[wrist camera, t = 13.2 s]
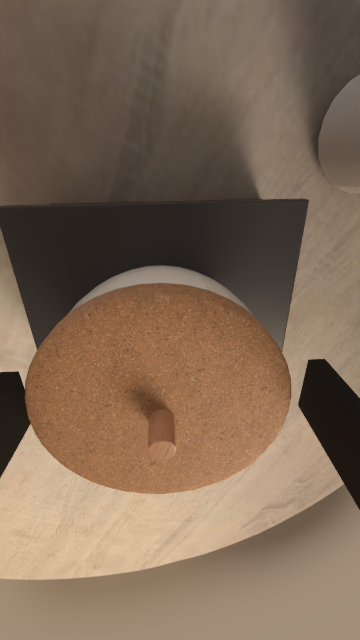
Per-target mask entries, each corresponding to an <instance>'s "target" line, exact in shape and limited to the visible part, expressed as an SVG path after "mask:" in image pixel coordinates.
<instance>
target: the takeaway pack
mask: <svg viewBox="0 0 360 640" xmlns="http://www.w3.org/2000/svg"><path fill="white" fill-rule="evenodd" d="M308 203H309V200H307V199H269V200H262V199H245V200H201V201H158V202H115V203H71V204H50V205H10V206H0V227H1V231H2V234H3V237H4V241H5V244H6V247H7V251H8V254H9V257H10V261H11V264H12V267H13V271H14V274H15V277H16V281H17V284H18V287H19V291H20V294H21V297H22V301H23V304H24V307H25V311H26V314H27V317H28V321H29V324H30V327H31V331H32V334H33V337H34V341H35V344H36V347H37V350H38V348H39V347H40V345H41V344H42V342H43V341H44V340H45V339H46V337H47V336H48V335H49V334H50V332H51V331H52V330H53V329H54V327H55V326H56V325H57V324H58V323H59V322H60V321H61V320H62V319H63V318H65V317H66V316H67V315H68V313H69V312H70V311H71V310H72V309H73V307H74V306H75V305H76V304H77V303H78V302H79V301H80V300H81V299H82V298H83V297H85V296H86V295H87V294H88V293H89V292H90V291H92V290H93V289H94V288H95V287H97V286H98V285H100V284H101V283H103V282H105V281H106V280H108V279H110V278H112V277H114V276H116V275H119V274H121V273H124V272H127V271H129V270H132V269H137V268H141V267H146V266H161V265H164V266H174V267H181V268H185V269H189V270H193V271H195V272H198V273H200V274H202V275H205V276H207V277H209V278H211V279H213V280H215V281H216V282H218V283H220V284H221V285H223V286H224V287H226V288H227V289H228V290H229V291H230V292H232V293H233V294H234V295H235V296H236V297H237V298H238V299H239V300H240V301H241V302H243V303H244V304H245V306H246V307H247V308H248V309H249V311H250V312H251V313H252V314H253V316H254V317H255V318H256V319H257V320H258V321H260V322H261V323H262V324H263V326H264V327H265V328H266V330H267V331H268V332H269V334H270V335H271V336H272V338H273V339H274V340H275V342H276V343H277V344H278V346H279V348H280V350H281V352H282V348H283V343H284V337H285V331H286V326H287V320H288V315H289V309H290V303H291V298H292V292H293V287H294V281H295V275H296V270H297V264H298V259H299V253H300V247H301V242H302V236H303V231H304V225H305V219H306V214H307V208H308Z"/></svg>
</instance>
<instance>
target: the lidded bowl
mask: <svg viewBox="0 0 360 640" xmlns="http://www.w3.org/2000/svg"><path fill="white" fill-rule="evenodd" d="M290 399H291V378H290V374H289V370H288V365H287V362H286V360H285V358H284V356H283V354H282V352H281V350H280V348H279V346H278V344H277V343H276V342H275V340H274V339H273V338H272V336H271V335H270V334H269V332H268V331H267V330H266V328H265V327H264V326H263V324H262V323H261V322H260V321H258V320H257V319H256V318H255V317H254V316H253V314H252V313H251V312H250V311H249V309H248V308H247V307H246V306H245V304H244V303H243V302H241V301H240V300H239V299H238V298H237V297H236V296H235V295H234V294H233V293H232V292H230V291H229V290H228V289H227V288H226V287H224V286H223V285H221V284H220V283H218V282H216V281H215V280H213V279H211V278H209V277H207V276H205V275H202V274H200V273H198V272H195V271H193V270H189V269H185V268H181V267H174V266H164V265H161V266H146V267H141V268H137V269H132V270H129V271H127V272H124V273H121V274H119V275H116V276H114V277H112V278H110V279H108V280H106V281H105V282H103V283H101V284H100V285H98V286H97V287H95V288H94V289H93V290H92V291H90V292H89V293H88V294H87V295H86V296H85V297H83V298H82V299H81V300H80V301H79V302H78V303H77V304H76V305H75V306H74V307H73V309H72V310H71V311H70V312H69V313H68V315H67V316H66V317H65V318H63V319H62V320H61V321H60V322H59V323H58V324H57V325H56V326H55V327H54V329H53V330H52V331H51V332H50V334H49V335H48V336H47V337H46V339H45V340H44V341H43V342H42V344H41V345H40V347H39V348H38V350H37V352H36V354H35V356H34V358H33V360H32V362H31V364H30V367H29V370H28V374H27V378H26V381H25V403H26V409H27V414H28V418H29V420H30V422H31V425H32V427H33V430H34V432H35V434H36V435H37V437H38V438H39V440H40V442H41V443H42V445H43V446H44V447H45V448H46V449H47V450H48V452H49V453H50V454H51V455H52V456H53V457H54V458H55V459H57V460H58V461H59V462H60V463H61V464H62V465H64V466H65V467H66V468H68V469H69V470H71V471H73V472H74V473H76V474H78V475H79V476H81V477H83V478H86V479H88V480H90V481H92V482H94V483H97V484H100V485H103V486H106V487H110V488H113V489H118V490H122V491H127V492H136V493H149V494H164V493H175V492H182V491H188V490H194V489H198V488H201V487H204V486H208V485H211V484H214V483H216V482H219V481H221V480H224V479H226V478H228V477H230V476H232V475H234V474H235V473H237V472H239V471H241V470H242V469H244V468H245V467H247V466H248V465H250V464H251V463H253V462H254V461H255V460H256V459H257V458H258V457H259V456H260V455H261V454H262V453H263V452H265V450H266V449H267V448H268V447H269V446H270V445H271V443H272V442H273V441H274V440H275V438H276V436H277V435H278V433H279V431H280V430H281V428H282V426H283V423H284V421H285V418H286V416H287V414H288V410H289V404H290Z"/></svg>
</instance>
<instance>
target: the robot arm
mask: <svg viewBox="0 0 360 640" xmlns="http://www.w3.org/2000/svg"><path fill="white" fill-rule="evenodd" d="M298 406H299V407H300V409H301V411H302V413H303V414H304V416H305V418H306V419H307V421H308V423H309V424H310V426H311V428H312V430H313V431H314V433H315V435H316V436H317V438H318V440H319V441H320V443H321V445H322V447H323V448H324V450H325V452H326V453H327V455H328V457H329V458H330V460H331V462H332V464H333V465H334V467H335V469H336V470H337V472H338V474H339V475H340V477H341V479H342V481H343V482H344V484H345V486H346V487H347V489H348V491H349V493H350V494H351V496H352V498H353V499H354V501H355V503H356V504H357V506H358V508H359V509H360V398H359V397H358V396H357V395H356V394H355V393H354V391H353V390H352V389H351V388H350V387H349V386H348V385H347V384H346V382H345V381H344V380H343V379H342V378H341V377H340V376H339V375H338V373H337V372H336V371H335V370H334V369H333V368H332V367H331V366H330V364H329V363H328V362H327V361H326V360H325V359H314V360H308V364H307V368H306V373H305V377H304V381H303V386H302V390H301V394H300V399H299V403H298ZM30 424H31V422H30V420H29V418H28V414H27V409H26V403H25V389H24V386H23V383H22V380H21V377H20V374H19V372H1V373H0V477H1V476H2V474H3V472H4V470H5V469H6V467H7V465H8V463H9V461H10V460H11V458H12V456H13V454H14V452H15V451H16V449H17V447H18V445H19V443H20V442H21V440H22V438H23V436H24V434H25V433H26V431H27V429H28V427H29V426H30Z"/></svg>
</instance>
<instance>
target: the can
mask: <svg viewBox="0 0 360 640" xmlns="http://www.w3.org/2000/svg"><path fill="white" fill-rule="evenodd" d="M318 159H319V162H320V165H321V168H322V171H323V174H324V176H325V177H326V178H327V179H328V181H329V182H330V183H331V184H332V186H334V187H336V188H338V189H340V190H341V191H343V192H345V193H356V194H360V74H359V75H358V76H356V77H355V78H353V79H352V80H350V81H349V82H348V83H347V84H346V85H345V87H344V88H343V89H342V90H341V91H340V92H339V93H338V95H337V96H336V97H335V98H334V100H333V102H332V104H331V105H330V107H329V109H328V111H327V113H326V115H325V117H324V119H323V123H322V127H321V131H320V135H319V139H318Z"/></svg>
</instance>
